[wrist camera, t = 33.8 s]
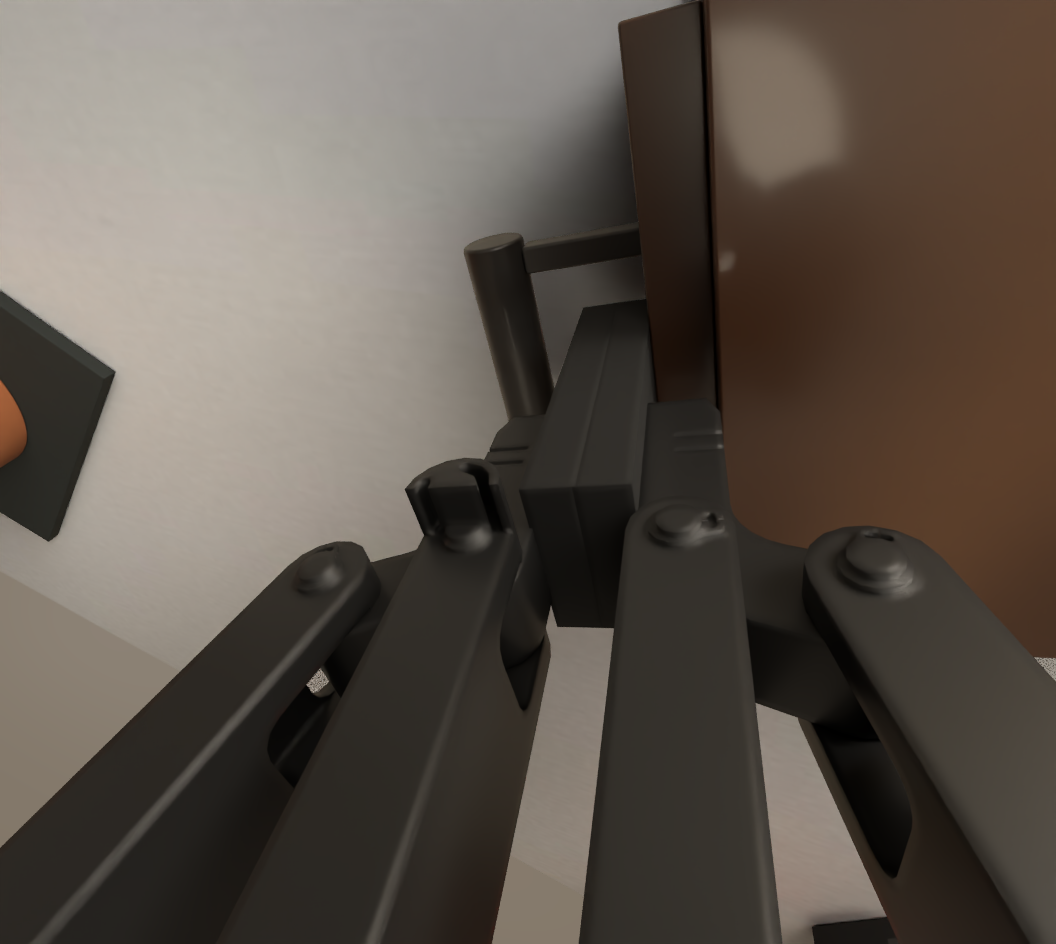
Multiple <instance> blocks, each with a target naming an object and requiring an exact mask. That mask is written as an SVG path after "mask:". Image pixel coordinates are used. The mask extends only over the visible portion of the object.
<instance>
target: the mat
mask: <svg viewBox="0 0 1056 944" xmlns="http://www.w3.org/2000/svg"><path fill="white" fill-rule="evenodd" d="M114 374H115V372H114V371H112V370H111V369H110V368H108V367H107V366H105V365H104V364H102V363H101V362H100V361H98V360H97V359H95V358H94V357H93V356H91V355H90V354H88V353H87V352H85V351H84V350H83V349H81V348H80V347H78V346H77V345H76V344H74V343H73V342H71V341H70V340H68V339H67V338H66V337H64V336H63V335H61V334H60V333H59V332H57V331H56V330H54V329H53V328H51V327H50V326H49V325H47V324H46V323H44V322H43V321H41V320H40V319H39V318H37V317H36V316H34V315H33V314H32V313H30V312H29V311H27V310H26V309H24V308H23V307H22V306H20V305H19V304H17V303H16V302H15V301H13V300H12V299H10V298H9V297H7V296H6V295H5V294H3V293H2V292H0V380H1V381H2V383H3V384H4V385H5V386H6V388H7V389H8V391H9V392H10V394H11V395H12V397H13V398H14V400H15V402H16V403H17V405H18V407H19V409H20V411H21V414H22V416H23V419H24V422H25V425H26V430H27V442H26V446H25V448H24V450H23V452H22V453H21V454H20V455H19V456H18V457H17V458H15V459H13V460H12V461H10V462H9V463H7V464H5V465H4V466H2V467H1V468H0V512H1V513H2V514H4V515H6V516H7V517H9V518H10V519H12V520H14V521H15V522H17V523H19V524H20V525H22V526H24V527H25V528H27V529H29V530H30V531H32V532H33V533H35V534H37V535H38V536H40V537H42V538H43V539H45V540H47V541H50V540H52V539H53V538H54V537H55V536H57V535H58V532H59V529H60V527H61V524H62V521H63V518H64V515H65V512H66V510H67V507H68V504H69V501H70V498H71V495H72V493H73V490H74V487H75V484H76V481H77V478H78V476H79V473H80V470H81V467H82V464H83V461H84V459H85V456H86V453H87V450H88V447H89V444H90V442H91V439H92V436H93V433H94V430H95V427H96V425H97V422H98V419H99V416H100V413H101V411H102V408H103V405H104V402H105V399H106V396H107V394H108V391H109V388H110V385H111V382H112V379H113V377H114Z"/></svg>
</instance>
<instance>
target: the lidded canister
mask: <svg viewBox="0 0 1056 944" xmlns="http://www.w3.org/2000/svg"><path fill="white" fill-rule="evenodd" d="M26 442H27V430H26V425H25V422H24V419H23V416H22V414H21V411H20V409H19V407H18V405H17V403H16V402H15V400H14V398H13V397H12V395H11V394H10V392H9V391H8V389H7V388H6V386H5V385H4V384H3V383H2V381H1V380H0V468H1V467H2V466H4V465H5V464H7V463H9V462H10V461H12V460H13V459H15V458H17V457H18V456H19V455H20V454H21V453H22V452H23V450H24V448H25V446H26Z"/></svg>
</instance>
